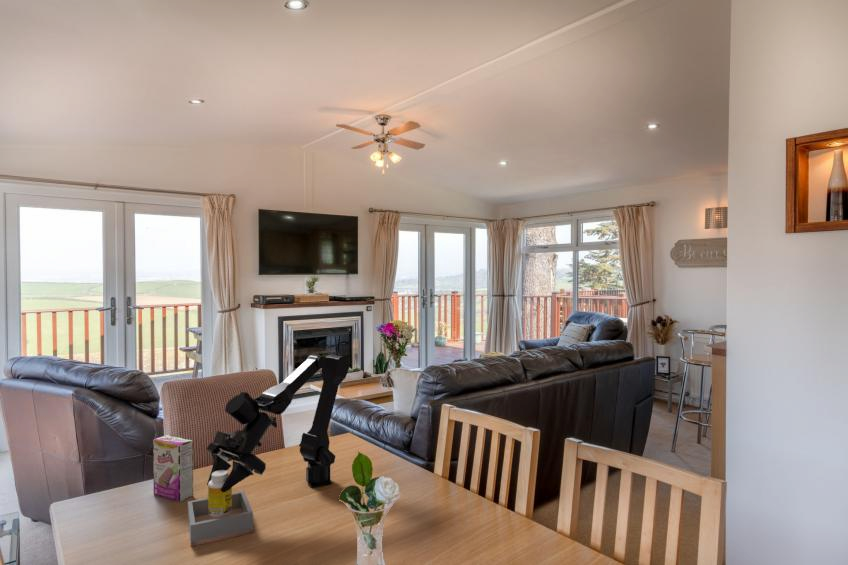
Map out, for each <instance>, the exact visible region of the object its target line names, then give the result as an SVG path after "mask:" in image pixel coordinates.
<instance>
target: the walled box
mask: <svg viewBox="0 0 848 565" xmlns="http://www.w3.org/2000/svg"><path fill="white" fill-rule="evenodd" d="M248 499H249V498H248V496H247V495H246V491H245V490H241V491H237V492H232V510H231V512H230V513H229V514H227V515H225V516H221V517H212V516H210V515H209V512H208V497H206V498H205V497H204V498H199V499H194V500H188V501H187V524H188V532H189V533H188V536H189V541H190V542H189V544H190V547H195V546H199V545H203V544H208V543H213V542H219V541H221V540H226V539H231V538H235V537H239V536H243V535H248V534H252V533H254V513H253V512H254V511H253V510H252V507H251V504H250V502H249V500H248Z"/></svg>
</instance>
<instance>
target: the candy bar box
mask: <svg viewBox="0 0 848 565" xmlns="http://www.w3.org/2000/svg"><path fill="white" fill-rule="evenodd" d="M152 449H153V450H152V455H153V456H152V457H153V458H152V459H153V461H152V462H153V467H152V468H153V470H152V471H153V472H152V473H153V495H154V496H158V497H163V498H165V499H168V500H172V501H176V502H179V503H181V502H183V501H185V500H188V499H190V498H191V497H193V496H194V440H192V439H188V438H183V437H178V436H173V435H169V434H165V435H162V436H160V437H159V436H158V437H156V438H154V439H153V440H152Z"/></svg>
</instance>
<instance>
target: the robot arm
mask: <svg viewBox="0 0 848 565" xmlns="http://www.w3.org/2000/svg"><path fill="white" fill-rule="evenodd" d="M350 365H351V364H350V362H349V359H348V358H347V357H346V356H344V355H335V354H327V355H326V356H324V355H320V354H315V353H314V354H310V355H308V356H307V358H306V360H305V361H303V362H302V363H301V364H300V365H299V366H298V367H297V368H296V369H295V370H293V372H292V373H291V374H289V375H288V376H287V377H286V378H285V379H284V380H283V381H282V382H281V383H278V384H276V385H274V386H273V385H272V386H271V387H270V388H268V389H266V390H265V391H263V392H262V393H261V394H260V395H259V396H257V397H255V398H253V397H251V394H249V393H248V392H246V391H241V392H239V394H238V395H235V396H234V397H232V398H231V399H229V400H228V402H227V403H226V405H225V408H224V410H225V413H226V414H228V415H229V416H230V417H232V418H233V419H234V420H235V421H236V422H237V423H239V424H240V425H243V427H242V429H241V430H240V429H236V431H232V432H231V433H230V432H226V431H221V430H216V433H215V436H214V438H213V441H212V442H210V443H209V444H208V446H207V447H206V448H205V449H206V451H208V452H209V453H210V456H211V457H212V460H213V462H212V468H211V471H210V473H209V477H208V481H207V484H206V485H207V486H208V483H209V482H210V481H211V478H212V473H213V472H215V471H219V470H227V471H228V470H229V469H230V468H231V467H232V469H231V470H230V473H228V475H229V476H228V477H227V479H226V481H225V483H224V484H223V486H222V488H221V491H222V492H223V493H224V492H226V491H227V490H228V489H230V488H231V487H232V488H233V487H234V486H235V485H237V484H239V483H240V482H242V481H244V480H245V479H247V478H249V477H250V476H254V473H255V474H257V475H260V476H262V475H263V473H264V472H265V471H266V469H267V468H266V466H267V464H266V462H264V461H263V460H262V459H261V458H259V457H258V456H257V455H256V454H253V453H254V451H255V449H256V448H257V447H258V448H261V447H262V445H263V443H261V440H262V438H263V437H264V436H265V434H266V432H267V431H268V429H269V428H270V427H271V428H276V429H277V427H278V423H277V417H275V416H271V415H269V413H270V414H272V415H282V414H283V413H284V412H285V411H286V409H288V407H289V405H291V404H292V401H293V398H294V395H295V394H296V393H297V392H298V391H299V390H300V389H301V388H302V387H303V386H304V385H305V384H306V383H307V382H308V381H309V380H310V379H312V377H314V375H315V374H317V372H319V371H320V373H321V377H322V384H321V385H322V386H321V390H320V394H319V397H318V402H317V405H316V410H315V413H314V417H313V421H312V424H311V425H312V426H310V427H311V428H310V429H309V430H308V431H307V433H306V432H303V433H302V435H301V440H300V443H299V445H298V446H299V453H300V455H301V456H302V458H303V461H304V462H307V467H306V468H305V481H306V482H307V484H308V485H309V486H310V488H317V487H322V486H327V485H333V480H331V466H332V464H335V460H336V455H335V454H334V453H333V452H332V451H330V449H329V448H330V443H331V442H330V438H329V432H328V429H329V426H330V421H331V418H332V415H333V414H332V413H333V410H334V407H335V401H336V398H337V394H338V390H339V386H340V384H342V382H343V381H344V380H345V379H346V377H347V375H348V373H349V369H350ZM260 410H261V411H260ZM267 413H268V414H267ZM230 461H232V465H231V463H229V462H230Z"/></svg>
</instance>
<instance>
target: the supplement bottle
mask: <svg viewBox="0 0 848 565" xmlns="http://www.w3.org/2000/svg"><path fill="white" fill-rule="evenodd" d="M228 476H229V471H228V470H219V471H215V472H213V473H212V478H211V481H210V482H209V483H208V482H207V483H208V485H207V495H208V496H207V498H208V512H209V515H210V516H212V517H221V516H225V515H227V514H229V513H230V512H231V510H232V493H233V487H231V488H230V489H228V490H227V491H226V492H224V493H223V492H222V491H221V488H222V486H223V484H224V483H225V481H226V479H227V477H228Z"/></svg>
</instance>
